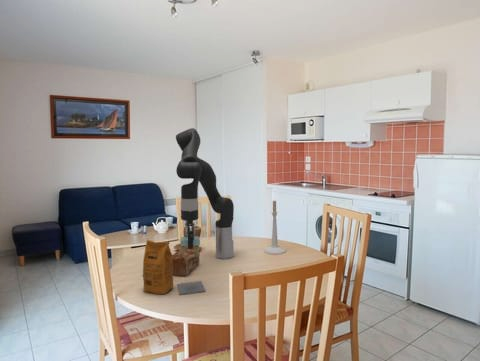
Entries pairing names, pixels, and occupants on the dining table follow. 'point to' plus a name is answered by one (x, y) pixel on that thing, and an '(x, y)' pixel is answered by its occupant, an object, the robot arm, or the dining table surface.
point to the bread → (184, 262)
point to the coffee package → (157, 267)
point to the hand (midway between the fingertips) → (190, 246)
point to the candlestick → (274, 236)
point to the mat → (190, 288)
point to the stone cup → (196, 233)
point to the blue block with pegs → (185, 243)
